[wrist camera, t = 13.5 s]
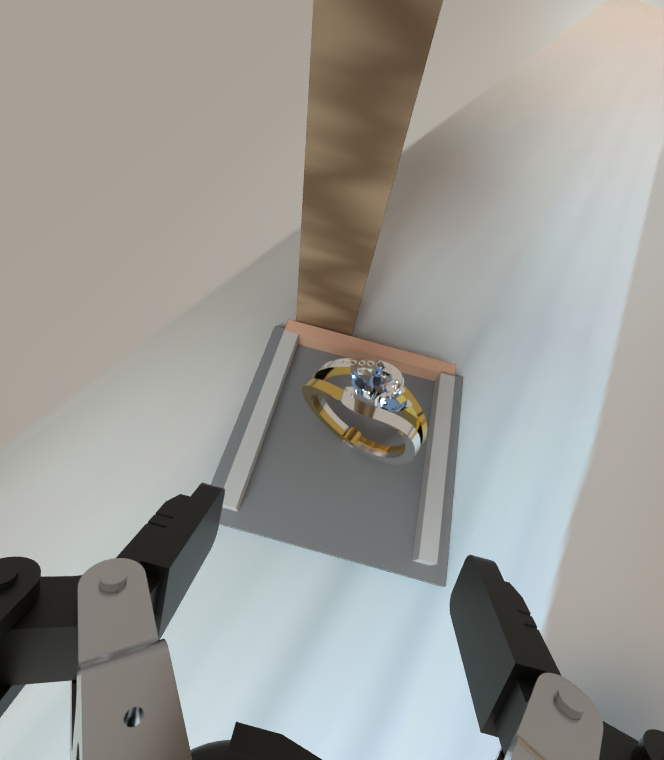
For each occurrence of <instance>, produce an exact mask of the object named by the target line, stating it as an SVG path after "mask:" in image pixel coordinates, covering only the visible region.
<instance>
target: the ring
mask: <svg viewBox="0 0 664 760" xmlns="http://www.w3.org/2000/svg"><path fill="white" fill-rule="evenodd" d="M345 374H350V380H351V384H352V387H346V388H345V389H344V390H343V389H341V388H339V387H337V386H335V385H333V384H331V383H329V382H326V381H323V380H325V379H327V378H329V377H332V376H336V375H345ZM358 375H371V378H370V381H369V383H368V385H367V383H366V382H365V380H364V379H363V378H361V377H359V376H358ZM382 378H384V379H386V380H387V381H386V382H385V383H383V379H382ZM302 394H303V397H304V399H305V401H306V402H307V404H308V406H309V407H310V408H311V410H312V411H313V412H314V414H315V415H316V416H317V417H318V418H319V419H320V420H321V422H322V423H323V424H324V425H325V426H326V427H328V428H329V429H330V430H331V431H332V432H333V433H334V434H335V435H336V436H338V437H339V438H340V439H341V440H342V442H343V443H344V444H345V445H346V446H347V447H349V448H351V449H352V448H354V449H355V450H357V451H358V452H360V453H362V454H364V455H366V456H368V457H370V458H372V459H374V460H377V461H380V462H383V463H387V464H393V465H403V464H407V463H409V462H411V461H412V460H413V458H414V457H415V456H416V454H417V453H418V451H419V449H420V447H421V446H422V444H423V443H424V441H425V439H426V436H427V422H426V418H425V415H424V413H423V411H422V409H421V407H420V405H419V403H418V402H417V400H416V399H415V397H414V396H413V395H412V394H411V392H410V391H409V390H408V389H407V388H406V387H405V386H404V378H403V375H402V374H401V372H400V371H399V370H398V369H397V368H396V367H394V366H393V365H391V364H389V363H387V362H384V361H380V360H374V359H362V358H343V359H336V360H332V361H329V362H327V363H325V364H324V365H322V366H321V367H320V368H319V369H318V370H317V371H316V372H315V373H314V374H313V375H312V376H311V378H310V379H309V380H308V381H307V383H306V384H305V385H304V386H303V387H302ZM323 396H326V397H330V398H333V399H337V400H340V401H341V402H342V403H343V404H344V405H345V406H346V407H347V408H349V409H351V410H352V411H354V412H356V413H358V414H360V415H363V416H365V417H368V418H371V419H374V420H377V421H379V422H382V423H384V424H386V425H388V426H390V427H392V428H394V429H395V430H397V431H398V432H399V433H400V434H401V435H402V437H403V438H404V441H405V443H404V444H402V445H399V446H385V445H381V444H378V443H375V442H373V441H370V440H368V439H366V438H365V437H363V436H361V435H362V434H361V433H360V432H359V431H358V430H357V429H355V428H353V427H349V426H347V425H346V424H345V423H344V422H343V421H342V420H341V419H340V418H339V417H338V416H337V415H336V414H335V413H334V412H333V411H332V410H331V408H330V407H329V406H328V404H327V403H326V401H325V399H324V397H323ZM357 399H363V401H364V402H367V403H370V400H371V403H372V405H373V406H372V405H369V404H366V403H364V402H361V401H359V400H357ZM399 412H402V414H403V415H404V417H405V419H406V420H405V419H404V418H402V417H400V416H398V415H396V414H397V413H399ZM394 413H396V414H394Z"/></svg>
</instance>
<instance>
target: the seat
mask: <svg viewBox="0 0 664 760" xmlns="http://www.w3.org/2000/svg"><path fill="white" fill-rule="evenodd" d="M343 358H362V359H374V360H380V361H384V362H387V363H389V364H391V365H393V366H394V367H396V368H397V369H398V370H399V371H400V372H401V374H402V375H403V378H404V386H405V387H406V388H407V389H408V390H409V391H410V392H411V394H412V395H413V396H414V397H415V399H416V400H417V402H418V403H419V405H420V407H421V409H422V411H423V413H424V415H425V418H426V422H427V436H426V439H425V441H424V443H423V444H422V446H421V447H420V449H419V451H418V453H417V454H416V456H415V457H414V458H413V460H412V461H411V462H409V463H407V464H403V465H393V464H387V463H383V462H380V461H377V460H374V459H372V458H370V457H368V456H366V455H364V454H362V453H360V452H358V451H357V450H355V449H354V448H352V449H351V448H349V447H347V446H346V445H345V444H344V443H343V442H342V440H341V439H340V438H339V437H338V436H336V435H335V434H334V433H333V432H332V431H331V430H330V429H329V428H328V427H326V426H325V425H324V424H323V423H322V422H321V420H320V419H319V418H318V417H317V416H316V415H315V414H314V412H313V411H312V410H311V408H310V407H309V406H308V404H307V402H306V401H305V399H304V397H303V394H302V387H303V386H304V385H305V384H306V383H307V381H308V380H309V379H310V378H311V376H312V375H313V374H314V373H315V372H316V371H317V370H318V369H319V368H320V367H321V366H322V365H324V364H325V363H327V362H329V361H332V360H336V359H343ZM455 373H456V364H452V363H448V362H445V361H441V360H437V359H434V358H430V357H426V356H422V355H419V354H415V353H411V352H408V351H404V350H400V349H397V348H393V347H389V346H385V345H382V344H378V343H374V342H371V341H367V340H363V339H360V338H356V337H352V336H348V335H345V334H341V333H337V332H334V331H330V330H326V329H323V328H319V327H315V326H311V325H308V324H304V323H300V322H297V321H293V320H289V319H288V322H287V325H286V327H285V329H284V328H281V327H277V326H275V327H274V330H273V332H272V334H271V337H270V339H269V342H268V344H267V347H266V349H265V352H264V354H263V357H262V359H261V362H260V364H259V367H258V369H257V372H256V374H255V377H254V379H253V382H252V384H251V387H250V389H249V392H248V394H247V396H246V399H245V401H244V404H243V406H242V409H241V411H240V414H239V416H238V419H237V421H236V424H235V426H234V429H233V431H232V434H231V436H230V439H229V441H228V444H227V446H226V449H225V451H224V454H223V456H222V458H221V461H220V463H219V466H218V468H217V471H216V473H215V476H214V478H213V481H212V483H211V485H212V486H216V487H220V488H224V489H225V496H224V501H223V506H222V511H221V516H220V521H219V524H221V525H224V526H228V527H231V528H235V529H239V530H242V531H246V532H249V533H253V534H256V535H260V536H264V537H267V538H271V539H274V540H278V541H281V542H285V543H288V544H292V545H296V546H299V547H303V548H306V549H310V550H313V551H317V552H321V553H324V554H328V555H331V556H335V557H338V558H342V559H345V560H349V561H353V562H356V563H360V564H363V565H367V566H370V567H374V568H378V569H381V570H385V571H388V572H392V573H395V574H399V575H402V576H406V577H410V578H413V579H417V580H420V581H424V582H427V583H431V584H435V585H438V586H442V587H443V586H446V578H447V566H448V554H449V542H450V530H451V517H452V505H453V493H454V481H455V469H456V457H457V445H458V433H459V421H460V409H461V397H462V385H463V377H462V376H458V375H455ZM358 376H359V377H361V378H363V379H364V380H365V382H366V383H367V385H368V383H369V381H370V378H371V375H358ZM382 379H383V383H385V382H386V381H387V380H386V379H384V378H382ZM323 381H326V382H329V383H331V384H333V385H335V386H337V387H339V388H341V389H343V390H344V389H345V388H346V387H352V384H351V380H350V374H345V375H336V376H332V377H329V378H327V379H325V380H323ZM323 397H324V399H325V401H326V403H327V404H328V406H329V407H330V408H331V410H332V411H333V412H334V413H335V414H336V415H337V416H338V417H339V418H340V419H341V420H342V421H343V422H344V423H345V424H346V425H347V426H349V427H353V428H355V429H357V430H358V431H359V432H360V433H361V434H362V435H361V436H363V437H365V438H366V439H368V440H370V441H373V442H375V443H378V444H381V445H385V446H399V445H402V444H404V443H405V441H404V438H403V437H402V435H401V434H400V433H399V432H398V431H397V430H395V429H394V428H392V427H390V426H388V425H386V424H384V423H382V422H379V421H377V420H374V419H371V418H368V417H365V416H363V415H360V414H358V413H356V412H354V411H352V410H351V409H349V408H347V407H346V406H345V405H344V404H343V403H342V402H341V401H340V400H337V399H333V398H330V397H326V396H323ZM357 400H359V401H361V402H364V401H363V399H357ZM364 403H366V404H369V405H372V403H371V400H370V403H367V402H364ZM372 406H373V405H372ZM394 414H396V413H394ZM396 415H398V416H400V417H402V418H404V419H405V417H404V415H403V414H402V412H399V413H397V414H396ZM405 420H406V419H405Z"/></svg>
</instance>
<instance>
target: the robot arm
mask: <svg viewBox="0 0 664 760" xmlns="http://www.w3.org/2000/svg"><path fill="white" fill-rule="evenodd" d="M224 496H225V489H224V488H220V487H216V486H212V485H209V484H205V483H201V484H200V485H199V487H198V488H197V489H196V490H195V492H194V493H193V494H192V496H191V497H189V496H186V495H182V494H180V495H178V496H176V497H174V498H172V499H170V500H168V501H166V502H165V503H164V504H163V505H162V507H161V508H160V509H159V510H158V511H157V512H156V515H154V516H153V517H152V518H151V519H150V520H149V521H148V524H146V525H145V526H144V527H143V528H142V529H141V530H140V531H139V533H138V534H137V535H136V536H135V537H134V538H133V539H132V540H131V542H130V543H129V544H128V545H127V546H126V547H125V548H124V550H123V551H122V552H121V553H120V554H119V555H118V556H117V557H116V558H115V559H109V560H105V561H102V562H100V563H98V564H96V565H94V566H92V567H91V568H89V569H88V570H87V571H86V572H85V573H84V574H83V575H80V576H59V577H41V569H40V566H39V565H38V563H36V562H35V561H34V560H32V559H29V558H25V557H6V558H1V559H0V717H1V716H2V715H3V713H4V712H5V711H6V709H7V708H8V707H9V705H10V704H11V703H12V702H13V700H14V699H15V698H16V696H17V695H18V694H19V692H20V691H21V690H22V688H23V687H24V686H25V684H34V683H46V682H58V681H69V680H71V681H70V760H322V759H320V758H319V757H317V756H316V755H314V754H312V753H311V752H309V751H308V750H306V749H304V748H303V747H301V746H300V745H298V744H296V743H295V742H293V741H292V740H290V739H288V738H287V737H285V736H284V735H282V734H279V733H275V732H271V731H268V730H264V729H260V728H257V727H253V726H249V725H246V724H242V723H238V722H236V724H235V727H234V731H233V734H232V738H231V740H223V741H217V742H212V743H207V744H205V745H202V746H199V747H196V748H194V749H192V750H190V747H189V742H188V737H187V733H186V728H185V723H184V719H183V714H182V709H181V705H180V700H179V695H178V691H177V686H176V681H175V676H174V672H173V667H172V662H171V658H170V653H169V649H168V645H167V642H166V640H165V639H161V640H160V638H161V636H162V635H163V633H164V631H165V629H166V628H167V626H168V624H169V622H170V620H171V619H172V617H173V615H174V613H175V612H176V610H177V608H178V606H179V604H180V603H181V601H182V599H183V597H184V596H185V594H186V592H187V590H188V589H189V587H190V585H191V583H192V581H193V580H194V578H195V576H196V574H197V573H198V571H199V569H200V567H201V566H202V564H203V562H204V560H205V558H206V557H207V555H208V553H209V551H210V550H211V548H212V545H213V543H214V540H215V538H216V535H217V531H218V527H219V521H220V516H221V511H222V506H223V501H224ZM450 615H451V619H452V623H453V627H454V630H455V634H456V638H457V642H458V646H459V650H460V654H461V658H462V662H463V665H464V669H465V673H466V677H467V681H468V685H469V689H470V693H471V697H472V700H473V704H474V708H475V712H476V716H477V720H478V724H479V728H480V731H481V733H485V734H488V735H492V736H496V737H499V740H500V744H501V749H500V751H499V753H498V755H497V756H496V759H495V760H664V732H662V731H658V730H652V729H651V730H648V731H646V732H645V734H644V735H643V737H642V738H641V739H640V741H637V740H635V739H634V738H632V737H630V736H628V735H627V734H625V733H623V732H621V731H619V730H618V729H616V728H614V727H612V726H610V725H609V724H607V723H605V722H603V721H602V719H601V716H600V714H599V712H598V710H597V709H596V707H595V706H594V704H593V703H592V701H591V700H590V699H589V698H588V697H587V696H586V695H585V693H584V692H583V691H582V690H581V689H579V688H578V687H577V686H576V685H574V684H573V683H572V682H570V681H569V680H567V679H566V678H564V677H562V676H561V674H560V672H559V670H558V668H557V666H556V664H555V662H554V660H553V658H552V656H551V654H550V652H549V650H548V648H547V646H546V644H545V642H544V640H543V638H542V636H541V634H540V632H539V630H537V626H536V624H535V622H534V620H533V618H532V617H531V616H530V612H529V610H528V608H527V606H526V604H525V602H524V600H523V598H522V597H521V595H520V594H519V593H518V592H517V591H516V590H515V588H514V587H513V586H512V585H511V584H510V583H509V582H505V581H504V580H503V577H502V575H501V573H500V571H499V569H498V567H497V565H496V563H495V562H494V561H491V560H488V559H484V558H480V557H476V556H473V555H469V556H467V558H466V559H465V562H464V564H463V566H462V569H461V571H460V574H459V576H458V579H457V581H456V583H455V586H454V588H453V591H452V593H451V598H450Z"/></svg>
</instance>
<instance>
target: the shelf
mask: <svg viewBox="0 0 664 760" xmlns="http://www.w3.org/2000/svg"><path fill="white" fill-rule="evenodd" d="M442 2H443V0H314V2H313V21H312V39H311V57H310V77H309V94H308V113H307V114H308V115H307V131H306V150H305V170H304V186H303V205H302V223H301V242H300V260H299V278H298V297H297V315H296V321H297V322H300V323H304V324H308V325H311V326H315V327H319V328H323V329H326V330H330V331H334V332H337V333H341V334H345V335H348V336H351V335H352V331H353V328H354V324H355V320H356V317H357V313H358V309H359V306H360V302H361V298H362V295H363V291H364V287H365V284H366V280H367V276H368V273H369V269H370V265H371V262H372V258H373V255H374V251H375V247H376V244H377V240H378V236H379V233H380V229H381V225H382V222H383V218H384V214H385V211H386V207H387V203H388V200H389V196H390V192H391V189H392V185H393V181H394V178H395V174H396V170H397V167H398V163H399V160H400V156H401V152H402V149H403V145H404V141H405V138H406V134H407V130H408V127H409V123H410V119H411V116H412V111H413V108H414V105H415V101H416V97H417V94H418V90H419V86H420V82H421V79H422V76H423V72H424V68H425V64H426V61H427V57H428V54H429V50H430V46H431V42H432V39H433V35H434V31H435V28H436V24H437V21H438V17H439V13H440V10H441V6H442Z"/></svg>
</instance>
